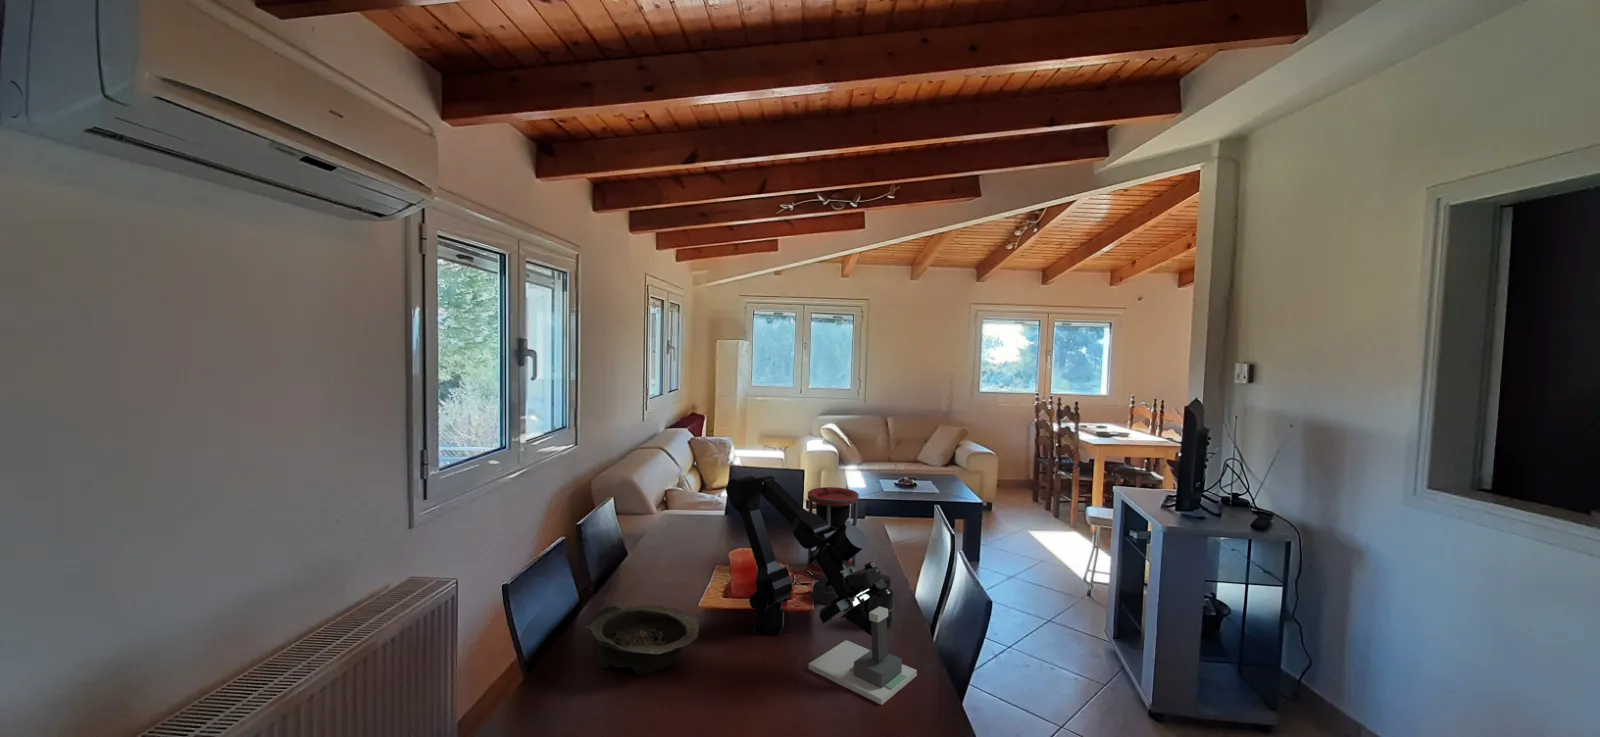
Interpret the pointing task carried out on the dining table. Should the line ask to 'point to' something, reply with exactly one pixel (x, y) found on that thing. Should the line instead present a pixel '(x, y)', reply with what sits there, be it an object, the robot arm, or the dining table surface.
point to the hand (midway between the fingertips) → (875, 635)
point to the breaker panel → (846, 678)
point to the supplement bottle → (885, 599)
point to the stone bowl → (641, 636)
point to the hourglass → (832, 515)
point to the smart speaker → (823, 592)
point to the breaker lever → (879, 633)
